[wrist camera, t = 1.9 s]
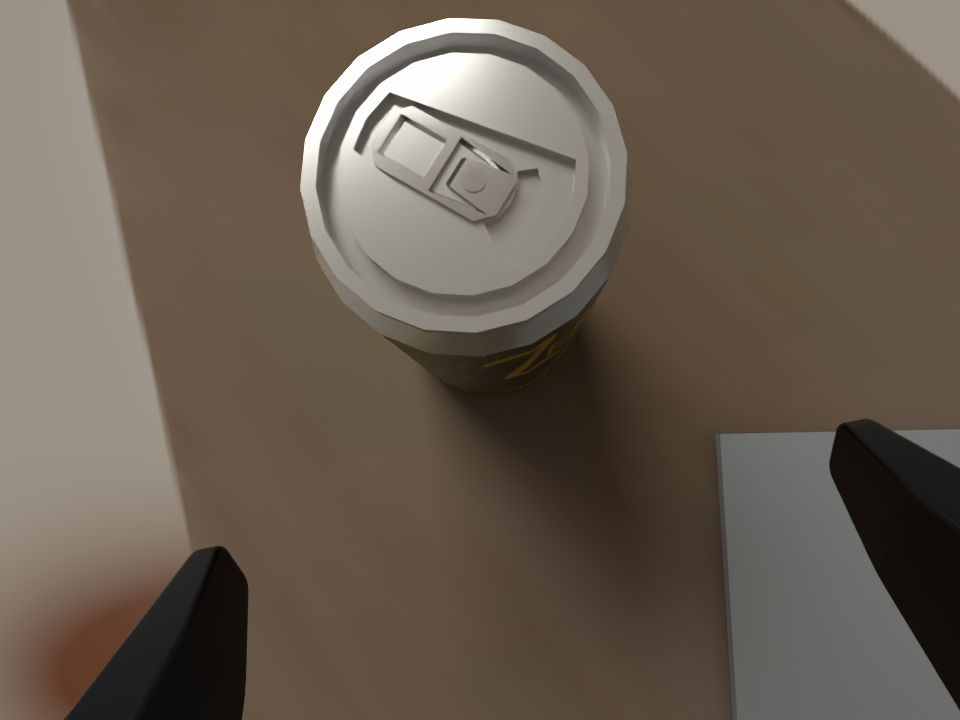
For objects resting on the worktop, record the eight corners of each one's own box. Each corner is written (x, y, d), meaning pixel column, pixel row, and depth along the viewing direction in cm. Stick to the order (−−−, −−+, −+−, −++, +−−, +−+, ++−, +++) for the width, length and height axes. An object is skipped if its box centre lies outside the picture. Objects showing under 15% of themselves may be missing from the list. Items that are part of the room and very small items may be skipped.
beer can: (379, 344, 22) (218, 234, 10) (463, 207, 22) (404, -55, 10) (519, 428, 21) (526, 418, 10) (603, 286, 22) (710, 105, 10)
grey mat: (1187, 1002, 19) (1205, 1018, 18) (748, 993, 19) (755, 1007, 19) (1113, 426, 20) (1127, 425, 20) (715, 434, 21) (720, 433, 21)
